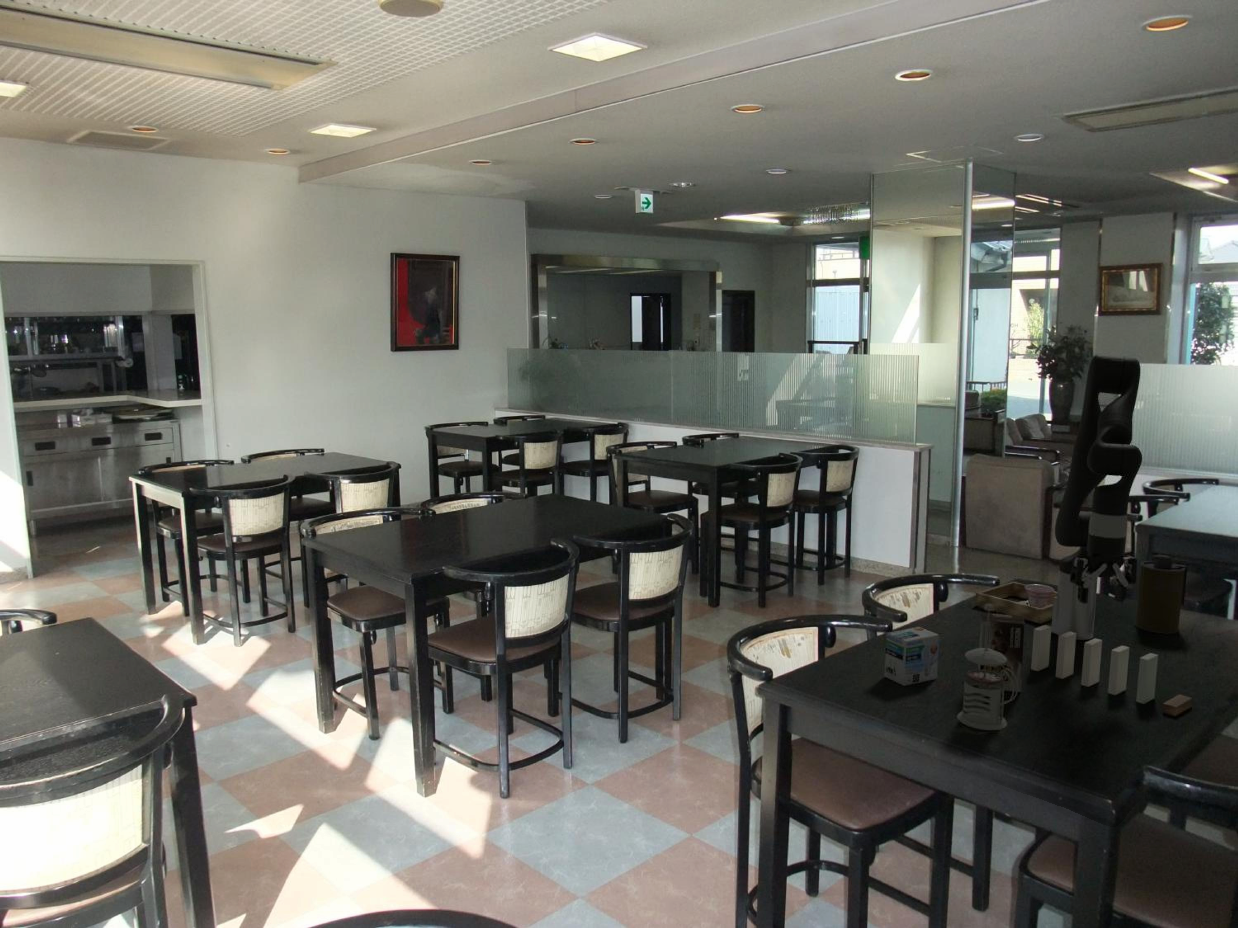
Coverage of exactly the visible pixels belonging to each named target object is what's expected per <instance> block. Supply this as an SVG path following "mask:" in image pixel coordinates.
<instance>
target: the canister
mask: <svg viewBox="0 0 1238 928" xmlns="http://www.w3.org/2000/svg"><path fill="white" fill-rule="evenodd" d="M1151 557H1152V558H1153V560H1145V561H1142V562H1140V564H1139V565H1140V566H1141V567H1140V577H1139V588H1138V589H1139V590H1138V600H1137V611H1136V620H1135V621H1136V622H1135V623H1134V625H1135V626H1136V627H1137V628H1138V629H1140V630H1143V631H1145V630H1146V632H1149V631H1150V632H1149V633H1153V632H1155V633H1154V634H1160V633H1163V634H1162V635H1173V633H1174V634H1178V633H1179V632H1180V619H1181V617H1180V616H1181V609H1182V608H1181V607H1185V595H1186V587H1187V576H1188V575H1187V573H1188V567H1187V566H1186V565H1184V564H1177V563H1173V561H1172V559H1173V558H1172V557H1170V556H1169V555H1167V554H1160V555H1159V554H1154V555H1151ZM1178 631H1179V632H1178ZM1177 632H1178V633H1177Z"/></svg>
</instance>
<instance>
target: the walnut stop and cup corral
mask: <svg viewBox="0 0 1238 928" xmlns="http://www.w3.org/2000/svg"><path fill="white" fill-rule="evenodd" d="M1026 585H1027V584H1024V583H1021V582H1017V581H1010V582H1007V583H1004V584H1000V585H997V586H994V587H990V588H988V589H984V590H982V591H977V592H975V597H974V598H975V600H974V602H975V603H974V606H975V607H976V606H979V607H978V608H980V607H981V608H980V609H984V607H985V605H986V604H992V605H993V607H994V610H993V611H992V612H995V611H997V612H996V613H999V612H1001V613H1000V614H1002V613H1004V614H1008V615H1019V616H1023V619H1024V621H1025V620H1026V621H1030V622H1033V623H1037V624H1045V623H1047V622H1050V621H1052V620H1051V619H1052V612H1053V599H1054V598H1055V597H1057V591H1055V590H1054V592H1053V593H1052V594H1051V597H1049V600H1048V603H1051V605H1048V606H1045V607H1042V608H1038V607H1034V606H1030V605H1026V604H1022V603H1018V602H1019V601H1013V600H1010V599H1006V598H1005V597H1007V598H1009V597H1008V596H1010V597H1013V596H1014V597H1017V596H1018V598H1022V599H1026V600H1028V599H1029V596H1028V594H1027V591H1026V590H1025V586H1026ZM1002 598H1004V599H1002ZM1192 702H1193V698H1192V697H1190V696H1188V695H1184V694H1183V695H1182V694H1180V693H1179V694H1178V695H1176V696H1174V697H1172V698H1171V699H1168V700H1166V701H1165V702H1163V704H1162V713H1164V714H1166V715H1169V716H1173V717H1176V716H1178V715H1180V714H1182V713H1184V712H1185V711H1187V710H1189V709H1191V707H1192Z"/></svg>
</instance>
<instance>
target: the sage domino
mask: <svg viewBox="0 0 1238 928" xmlns="http://www.w3.org/2000/svg"><path fill="white" fill-rule="evenodd" d="M1158 662H1159V654H1156V653H1153V652H1149V653H1147V654H1145V655H1143V656H1140V658H1139V665H1138V669H1139V670H1138V675H1137V676H1138V677H1137V687H1136V702H1137V703H1139V704H1143V705H1144V704H1147V703H1148V702H1150V701H1151V700H1154V699H1155V694H1156V684H1157V683H1156V682H1157V674H1158V673H1157V671H1158ZM1136 702H1135V703H1136Z"/></svg>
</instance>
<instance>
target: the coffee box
mask: <svg viewBox="0 0 1238 928" xmlns="http://www.w3.org/2000/svg"><path fill="white" fill-rule="evenodd" d="M987 623H988V612H981V613H980V629H979V633H980V634H979V646H978V648H986V639H987ZM1025 625H1026V624H1025V619H1023V616H1019V615H1008V614H1002V613H997V612H995V613H994V612H989V625H988V640H987V648H989V649H992V650H994V651H997V652H1000V653H1001V654H1002V655H1004V656H1005V657H1006V658H1007V661H1006V662H1005V663H1004V664H1003V665H999V666H986V670H989V671H992V672H993V671H994V672H995V673H998V674H1000V675H1001V670H1005V668H1008V669H1009V670H1011V671H1012V672H1013V674H1014V675H1015V676H1016V679H1017V681H1018V692H1017V693H1021V692H1022V686H1023V685H1022V682H1023V666H1024V665H1023V664H1024V663H1023V662H1024V644H1025V643H1024V642H1025V627H1026V626H1025ZM977 666H978V668H977V669H981V670H983V669H985V665H980V664H978V665H977ZM1009 670H1007V669H1006V672H1007V673H1008V674H1009V676H1010V677H1011V679H1012V681H1013V684H1014V693H1016V690H1017V683H1016V680H1015V678H1014V676H1013V674H1012V673H1011V672H1010V671H1009ZM1002 674H1004V671H1002ZM1009 676H1008V675H1007V674H1006V673H1005V674H1004V675H1003V680H1002V681H1001V682H1003V683H1004V692H1006V691H1007V692H1013V685H1012V682H1011V679H1010V678H1009ZM992 686H993V687H998V688H999V689H1001V691H1003V690H1002V688H1001V687H1000V686H999V685H998V684H988V685H982V686H978V687H977V688H979V689H981V688H987V687H992Z"/></svg>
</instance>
